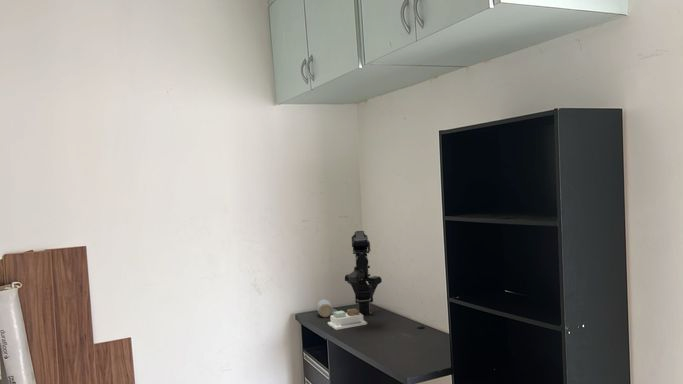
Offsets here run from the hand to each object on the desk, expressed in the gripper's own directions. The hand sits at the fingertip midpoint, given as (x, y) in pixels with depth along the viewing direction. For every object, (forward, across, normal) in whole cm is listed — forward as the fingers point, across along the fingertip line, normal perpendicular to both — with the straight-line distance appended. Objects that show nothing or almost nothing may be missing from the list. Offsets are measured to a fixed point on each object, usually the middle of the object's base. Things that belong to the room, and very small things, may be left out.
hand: (363, 296), depth 262 cm
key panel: (+13, -7, -5) cm, 16 cm away
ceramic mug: (+14, -27, +2) cm, 31 cm away
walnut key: (+10, -7, -1) cm, 12 cm away
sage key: (+10, -10, -7) cm, 16 cm away
